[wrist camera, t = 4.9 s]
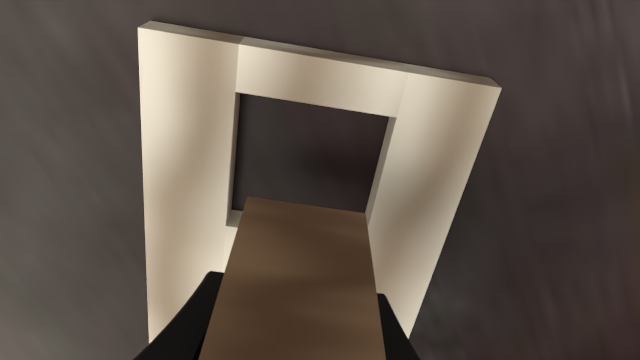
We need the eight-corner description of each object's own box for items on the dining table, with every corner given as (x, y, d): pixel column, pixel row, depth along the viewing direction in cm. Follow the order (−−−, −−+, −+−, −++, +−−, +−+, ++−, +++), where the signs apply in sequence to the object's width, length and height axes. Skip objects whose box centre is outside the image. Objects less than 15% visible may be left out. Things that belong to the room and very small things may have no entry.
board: (490, 77, 20) (503, 89, 18) (386, 370, 30) (389, 393, 28) (150, 20, 19) (135, 28, 17) (157, 342, 29) (148, 365, 27)
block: (365, 213, 15) (392, 406, 9) (343, 300, 17) (353, 507, 11) (247, 196, 15) (191, 383, 9) (238, 286, 17) (187, 491, 11)
